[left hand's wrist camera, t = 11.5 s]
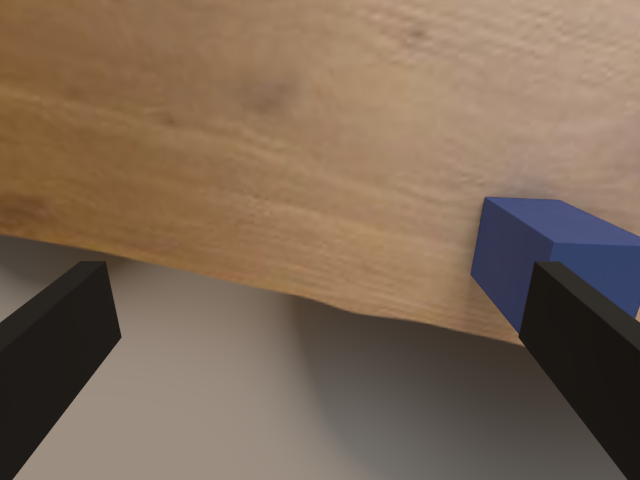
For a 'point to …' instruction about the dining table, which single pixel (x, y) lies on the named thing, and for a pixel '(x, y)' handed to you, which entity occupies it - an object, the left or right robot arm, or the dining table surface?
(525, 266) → the blue rectangular block
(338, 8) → the dining table surface
